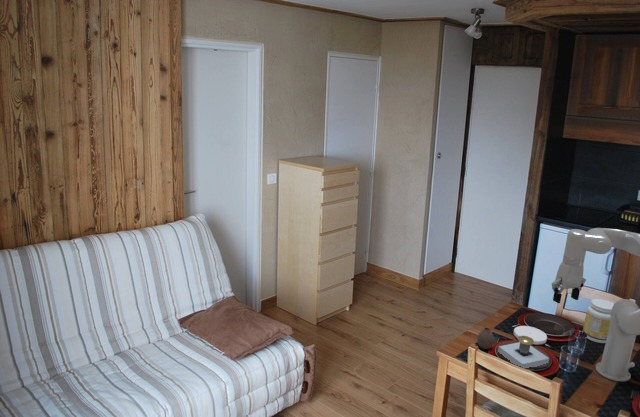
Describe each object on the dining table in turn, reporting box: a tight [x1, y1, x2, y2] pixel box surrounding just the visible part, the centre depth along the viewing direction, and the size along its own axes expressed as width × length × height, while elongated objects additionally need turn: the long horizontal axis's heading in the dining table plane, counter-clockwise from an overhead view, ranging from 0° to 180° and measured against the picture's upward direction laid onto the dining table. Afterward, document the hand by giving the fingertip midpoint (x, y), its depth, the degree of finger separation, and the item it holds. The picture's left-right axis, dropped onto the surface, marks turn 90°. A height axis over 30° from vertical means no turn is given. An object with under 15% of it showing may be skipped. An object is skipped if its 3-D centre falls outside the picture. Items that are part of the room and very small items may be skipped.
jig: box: [497, 341, 550, 368], centre depth 223 cm, size 14×14×4 cm
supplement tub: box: [582, 298, 615, 344], centre depth 245 cm, size 12×12×17 cm
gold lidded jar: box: [517, 336, 534, 357], centre depth 222 cm, size 6×6×9 cm
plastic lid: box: [513, 325, 548, 345], centre depth 243 cm, size 14×14×2 cm
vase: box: [476, 327, 495, 350], centre depth 231 cm, size 7×7×9 cm
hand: (565, 300), depth 216 cm, fingers open, 9 cm apart
